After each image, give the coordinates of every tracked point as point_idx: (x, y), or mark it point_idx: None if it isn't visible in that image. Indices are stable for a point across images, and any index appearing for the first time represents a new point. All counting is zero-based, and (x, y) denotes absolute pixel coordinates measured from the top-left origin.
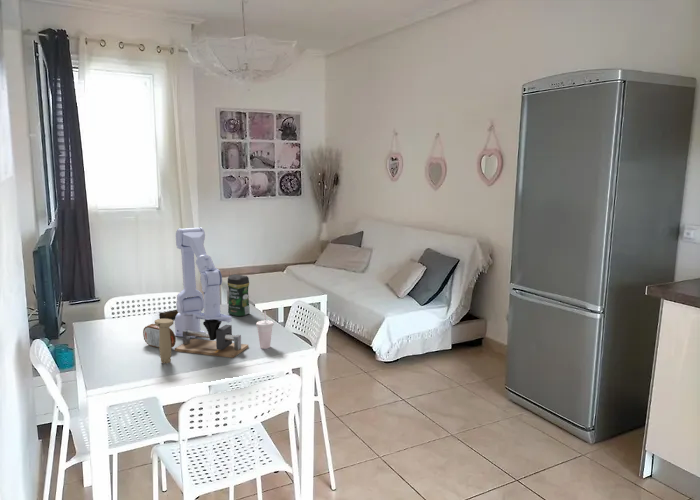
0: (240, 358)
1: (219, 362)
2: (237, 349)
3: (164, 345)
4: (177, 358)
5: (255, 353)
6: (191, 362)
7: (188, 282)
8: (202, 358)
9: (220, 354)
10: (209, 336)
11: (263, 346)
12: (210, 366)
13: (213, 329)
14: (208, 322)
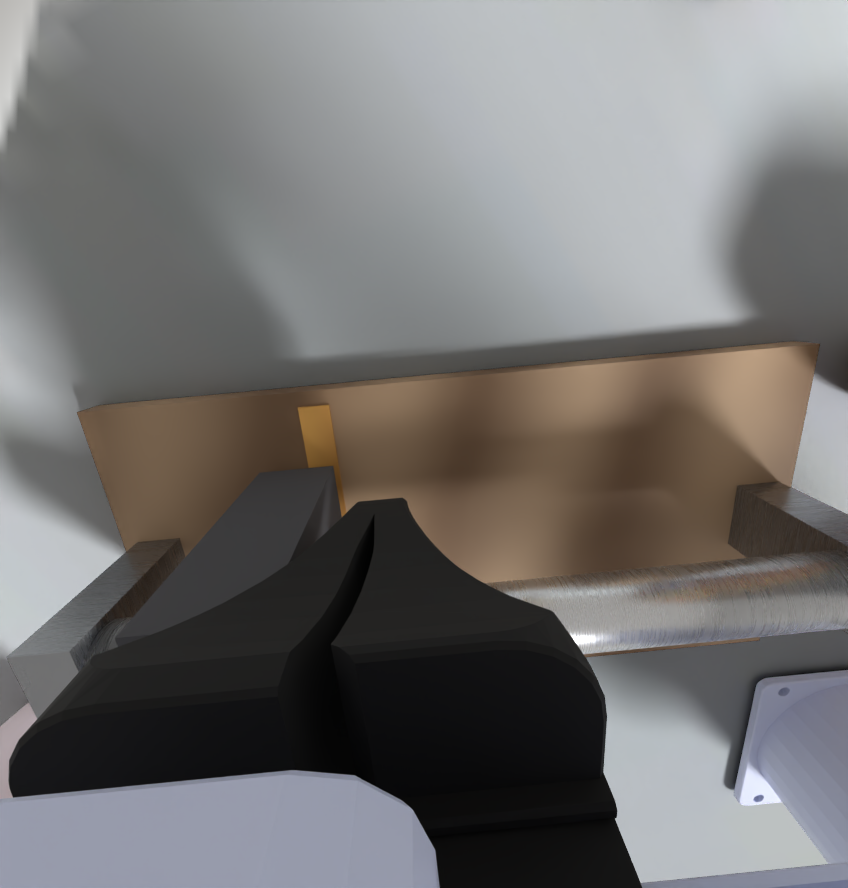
0: (22, 421)
1: (118, 224)
2: (138, 548)
3: None
4: (650, 140)
5: (12, 583)
6: (414, 81)
7: None
8: (380, 261)
9: (237, 396)
10: (403, 510)
11: (27, 710)
12: (106, 46)
13: (257, 587)
14: (377, 735)
